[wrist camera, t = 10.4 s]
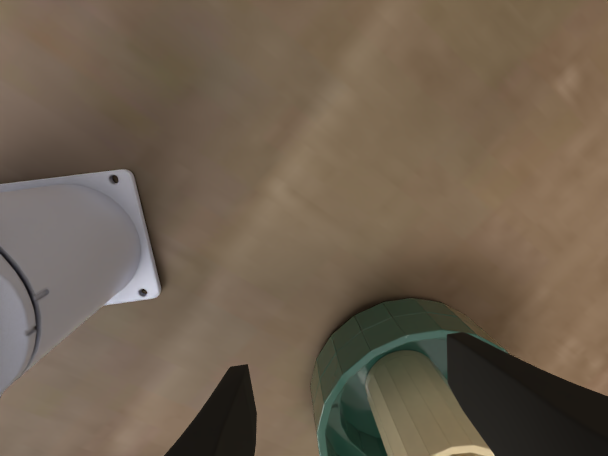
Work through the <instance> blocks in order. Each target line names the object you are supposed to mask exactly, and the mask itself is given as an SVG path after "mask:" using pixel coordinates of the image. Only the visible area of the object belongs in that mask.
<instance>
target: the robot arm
mask: <svg viewBox="0 0 608 456" xmlns="http://www.w3.org/2000/svg"><path fill="white" fill-rule="evenodd" d="M114 175H116V176H117V177H118V183H115V182H114V181H113V180H112V177H113V176H114ZM141 289H145V290H146V291H147V294H144V293H142V291H141ZM160 293H161V285H160V281H159V277H158V273H157V269H156V264H155V260H154V256H153V252H152V248H151V244H150V240H149V236H148V231H147V227H146V223H145V219H144V215H143V211H142V207H141V203H140V198H139V194H138V190H137V186H136V182H135V178H134V175H133V173H132V172H131V171H129V170H127V169H120V170H112V171H104V172H96V173H87V174H79V175H71V176H63V177H55V178H46V179H38V180H30V181H22V182H14V183H5V184H0V397H1V395H2V394H3V392H4V391H5V390H6V389H7V388H8V387H9V386H10V385H11V384H12V383H13V382H14V381H16V380H17V379H18V378H20V377H21V376H22V375H23V374H24V373H25V372H27V371H28V370H29V369H30V368H31V367H32V366H34V365H35V364H36V363H37V362H38V361H39V360H40V359H42V358H43V357H44V356H45V355H46V354H47V353H49V352H50V351H51V350H52V349H53V348H54V347H56V346H57V345H58V344H59V343H60V342H61V341H63V340H64V339H65V338H66V337H67V336H68V335H70V334H71V333H72V332H73V331H74V330H75V329H77V328H78V327H79V326H80V325H81V324H82V323H84V322H85V321H86V320H87V319H88V318H89V317H90V316H92V315H93V314H94V313H95V312H96V311H97V310H99V309H100V308H101V307H102V306H103V305H111V304H118V303H125V302H132V301H139V300H146V299H153V298H156V297H157V296H158V295H159V294H160ZM447 383H448V385H449V387H450V389H451V390H452V392H453V394H454V396H455V398H456V400H457V401H458V403H459V405H460V407H461V408H462V410H463V412H464V413H465V415H466V416H467V417H468V419H469V420H470V422H471V423H472V424H473V426H474V427H475V429H476V430H477V431H478V433H479V434H480V436H481V437H482V438H483V440H484V441H485V443H486V444H487V445H488V447H489V448H490V450H491V451H492V452H493V454H494V455H495V456H608V396H605V395H603V394H600V393H597V392H595V391H592V390H589V389H587V388H584V387H581V386H579V385H576V384H574V383H571V382H569V381H566V380H564V379H562V378H559V377H557V376H555V375H552V374H550V373H548V372H546V371H543V370H541V369H539V368H537V367H535V366H532V365H530V364H528V363H526V362H524V361H522V360H520V359H518V358H516V357H514V356H512V355H510V354H508V353H506V352H504V351H502V350H500V349H498V348H496V347H494V346H492V345H490V344H488V343H486V342H484V341H482V340H480V339H478V338H476V337H474V336H471V335H469V334H467V333H465V332H459V333H452V334H447ZM256 419H257V412H256V407H255V401H254V396H253V390H252V385H251V380H250V374H249V369H248V364H246V365H240V366H233V367H230V368H229V369H228V371H227V372H226V374H225V375H224V377H223V378H222V380H221V381H220V383H219V384H218V386H217V387H216V389H215V390H214V392H213V393H212V395H211V396H210V398H209V399H208V401H207V402H206V403H205V405H204V406H203V408H202V409H201V410H200V412H199V413H198V415H197V416H196V417H195V419H194V420H193V421H192V422H191V424H190V425H189V426H188V428H187V429H186V430H185V431H184V433H183V434H182V435H181V437H180V438H179V439H178V440H177V441H176V443H175V444H174V445H173V446H172V447H171V448H170V450H169V451H168V452H167V453H166V454H165V455H164V456H254V453H255V446H256Z"/></svg>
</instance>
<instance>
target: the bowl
mask: <svg viewBox="0 0 608 456" xmlns="http://www.w3.org/2000/svg"><path fill="white" fill-rule="evenodd" d="M459 332H465V333H467V334H469V335H471V336H474V337H476V338H478V339H480V340H482V341H484V342H486V343H488V344H490V345H492V346H494V347H496V348H498V349H500V350H502V351H504V352H506V353H508V352H507V351H506V350H505V349H504V348H503V347H502V346H501V345H499V344H498V343H497V342H496V341H495V340H494V339H493V338H491V337H490V336H489V335H488V334H487V333H486V332H484V331H483V330H482V329H481V328H480V327H479V326H478V325H476V324H475V323H474V322H473V321H472V320H471V319H470V318H468V317H467V316H466V315H465V314H463V313H461V312H459V311H457V310H455V309H453V308H451V307H449V306H448V305H446V304H444V303H441V302H435V301H429V300H423V299H416V298H408V299H401V300H394V301H387V302H383V303H380V304H378V305H376V306H374V307H371V308H369V309H367V310H365V311H363V312H360V313H358V314H356V315H355V316H353V317H352V318H351V319H349V320H348V321H347V322H346V323H345V324H344V325H343V326H341V327H340V328H339V329H338V330H337V331H336V332H334V333H333V334H332V335H331V336H330V338H329V340H328V341H327V343H326V344H325V346H324V348H323V349H322V351H321V352H320V354H319V356H318V357H317V360H316V363H315V367H314V372H313V376H312V380H311V386H310V387H311V394H312V402H313V410H314V417H315V425H316V433H317V440H318V448H319V455H320V456H388V455H387V453H386V450H385V447H384V444H383V441H382V438H381V436H380V433H379V430H378V427H377V424H376V422H375V419H374V416H373V413H372V410H371V408H370V405H369V402H368V399H367V395H366V390H365V384H366V378H367V375H368V373H369V371H370V369H371V368H372V367H373V365H374V364H375V363H376V362H377V361H378V360H380V359H381V358H382V357H384V356H386V355H388V354H390V353H392V352H396V351H401V350H411V351H416V352H419V353H422V354H424V355H425V356H427V357H428V358H429V359H430V360H431V361H432V362H433V363H434V365H435V366H436V367H437V368H438V369H439V370H440V372H441V373H442V374H443V376H444V377H445V378H446V380H447V334H452V333H459ZM508 354H509V353H508Z"/></svg>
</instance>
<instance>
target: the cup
mask: <svg viewBox="0 0 608 456" xmlns="http://www.w3.org/2000/svg"><path fill="white" fill-rule="evenodd" d="M365 390H366V395H367V399H368V402H369V405H370V408H371V410H372V413H373V416H374V419H375V422H376V424H377V427H378V430H379V433H380V436H381V438H382V441H383V444H384V447H385V450H386V453H387V455H388V456H495V455H494V454H493V452H492V451H491V450H490V448H489V447H488V445H487V444H486V443H485V441H484V440H483V438H482V437H481V436H480V434H479V433H478V431H477V430H476V429H475V427H474V426H473V424H472V423H471V422H470V420H469V419H468V417H467V416H466V415H465V413H464V412H463V410H462V408H461V407H460V405H459V403H458V401H457V400H456V398H455V396H454V394H453V392H452V390H451V389H450V387H449V385H448V383H447V380H446V378H445V377H444V376H443V374H442V373H441V372H440V370H439V369H438V368H437V367H436V366H435V365H434V363H433V362H432V361H431V360H430V359H429V358H428V357H427V356H425V355H424V354H422V353H419V352H416V351H411V350H401V351H396V352H392V353H390V354H388V355H386V356H384V357H382V358H381V359H380V360H378V361H377V362H376V363H375V364H374V365H373V367H372V368H371V369H370V371H369V373H368V375H367V378H366V384H365Z"/></svg>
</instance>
